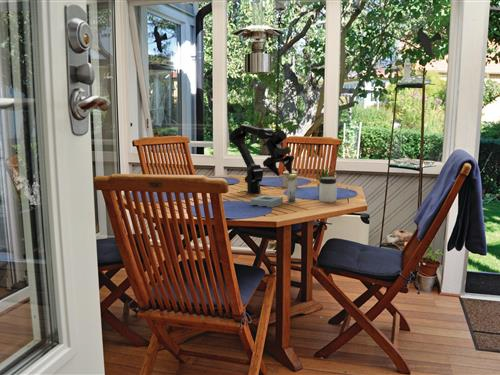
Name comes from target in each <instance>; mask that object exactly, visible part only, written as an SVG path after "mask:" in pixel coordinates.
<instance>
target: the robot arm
mask: <svg viewBox="0 0 500 375" xmlns="http://www.w3.org/2000/svg"><path fill="white" fill-rule="evenodd" d="M248 134H249V135H254V136H256V137H257V138H258V139H260V140H265V141H263V143H262V147H266V149H267V151H268V153H267V155H268V156H269V157H266V158H265V160H263V161H262V166H263V168H265V169H268V170H270V171H271V172H272V173H273V174H275V175H276V176H278V177H279V176H280V175H281V174H280V172H279V169H278V167H277V164H278V163H282V164H283V167H284V168H285V170H287V171H288V172H289V173H290V174H292V170H293V168H292V163H293V162H294V160H296V159H295V156H294V155H292V154H290V153H292V149H291V148H290V146H285V147H284V148H282V147H279V146H278V145H280V144H282V142H284V141H285V140H286V139H287V138H288V137H287V133H286V132H285V131H284V130H282V129H281V128H277V129H276V130H275V131H273V129H272V128H260V127H256V126H252V125H250V124H240V125H239V126H238V127H237V128H236V129H233V131H232V132H230V134H229V140H230V141H231V143H232V145H234V146H236V147H237V150H238V151H239V153H240V155H241V156H240V157H242V159H243V161H244V164H245V166H246V176H245V177H244V183H247V186H246V188H247V191H245V192H246V194H253V195H255V194H256V195H257V194H259V193H261V192H262V191H261V184H260V183H261V182H262V181H263V177H264V172H263V171H264V169H262V166H261V165H260V164H256V162H255V160H254V159H253V157H252V155H251V152H250V151H249V150H250V149H248V147H247V144H246V137H247V136H248Z"/></svg>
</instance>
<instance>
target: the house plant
mask: <svg viewBox="0 0 500 375" xmlns="http://www.w3.org/2000/svg"><path fill="white" fill-rule="evenodd" d="M333 170H334V168H333V169H331V170H330V166H329V167H327V169H326V170H325V168H324V166H322V169H319V168H318V170H317V169H315V170H314V172H316V173H317V175H318V176H314V178H315V179H316V182H320V178H321V177H333V176H338V173H334V171H333ZM332 173H333V174H332ZM316 186H317V190H318V194H319V183H317V185H316Z"/></svg>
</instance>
